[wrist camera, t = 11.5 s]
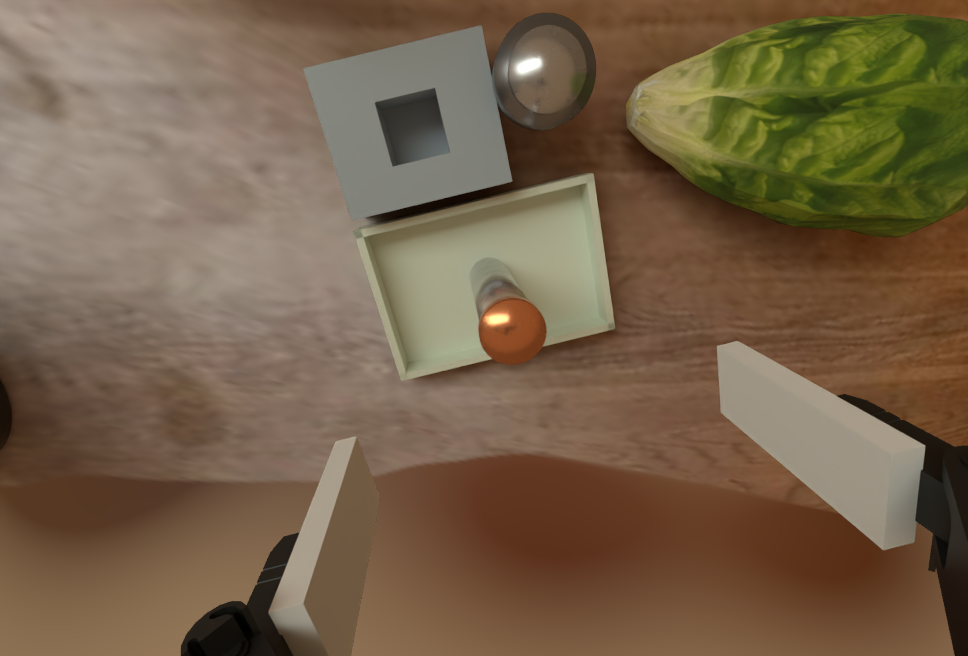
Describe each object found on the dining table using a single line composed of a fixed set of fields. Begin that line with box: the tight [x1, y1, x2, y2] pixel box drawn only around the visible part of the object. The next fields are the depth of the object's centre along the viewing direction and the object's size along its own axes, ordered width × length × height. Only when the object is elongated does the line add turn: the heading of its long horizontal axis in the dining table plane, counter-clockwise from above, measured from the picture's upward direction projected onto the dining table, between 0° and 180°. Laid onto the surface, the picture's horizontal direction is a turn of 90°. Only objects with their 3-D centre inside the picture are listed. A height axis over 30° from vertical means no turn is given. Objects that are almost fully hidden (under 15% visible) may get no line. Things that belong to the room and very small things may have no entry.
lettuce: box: [625, 14, 968, 237], centre depth 33 cm, size 14×23×13 cm, turn 81°
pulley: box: [492, 13, 596, 131], centre depth 32 cm, size 6×6×8 cm
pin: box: [470, 258, 547, 365], centre depth 33 cm, size 4×4×15 cm
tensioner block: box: [303, 25, 512, 221], centre depth 34 cm, size 12×10×5 cm
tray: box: [353, 173, 615, 381], centre depth 39 cm, size 19×13×3 cm
